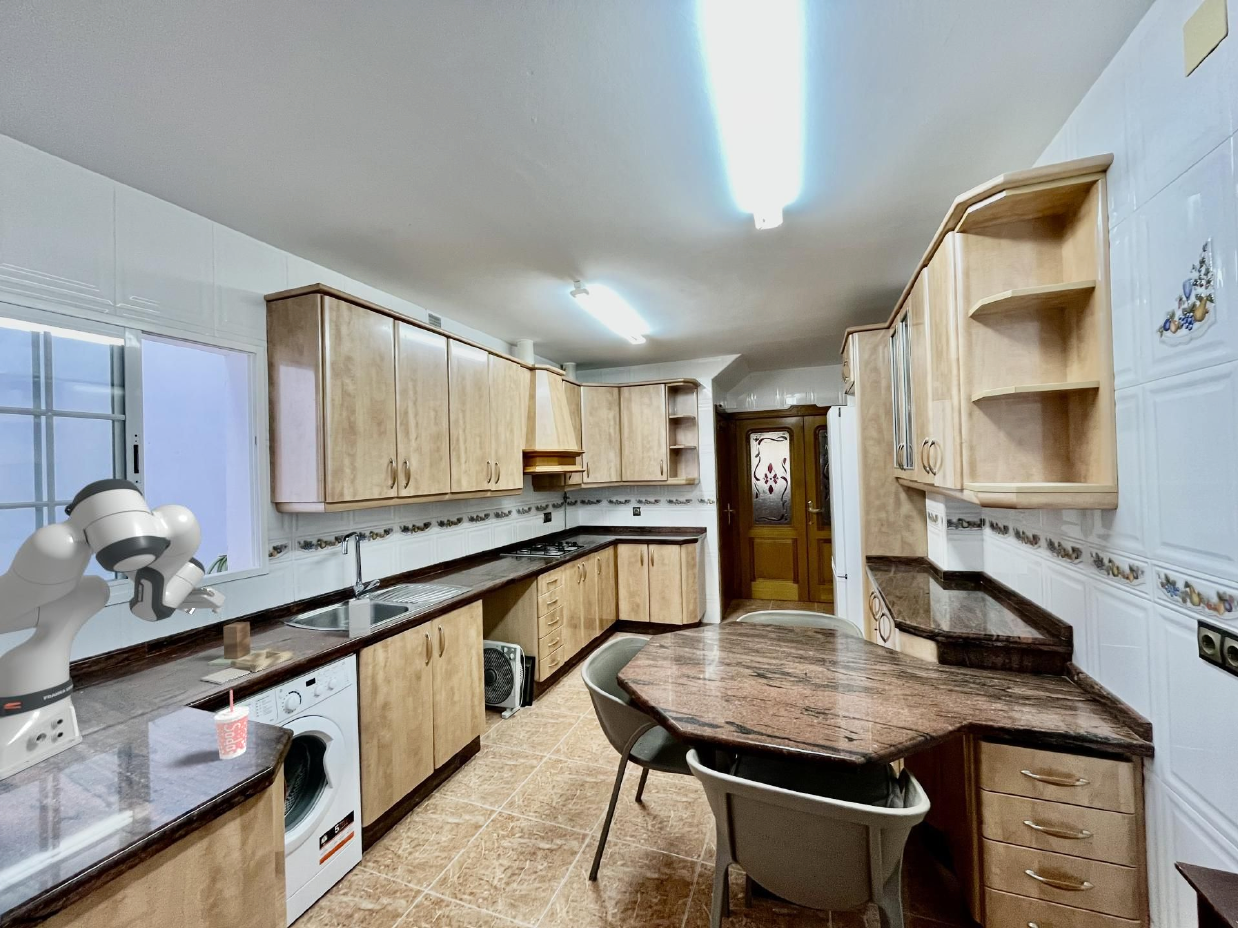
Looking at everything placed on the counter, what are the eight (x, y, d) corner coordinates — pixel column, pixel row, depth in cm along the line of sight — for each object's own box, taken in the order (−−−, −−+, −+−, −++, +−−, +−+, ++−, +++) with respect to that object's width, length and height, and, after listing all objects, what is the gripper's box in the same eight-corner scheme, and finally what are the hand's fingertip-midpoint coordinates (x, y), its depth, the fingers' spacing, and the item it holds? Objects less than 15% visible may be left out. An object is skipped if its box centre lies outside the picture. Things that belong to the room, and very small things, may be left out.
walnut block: (237, 659, 164) (236, 626, 164) (224, 659, 165) (223, 626, 165) (250, 653, 169) (249, 621, 169) (237, 653, 170) (236, 622, 170)
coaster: (237, 665, 161) (237, 662, 161) (207, 665, 162) (207, 662, 162) (265, 652, 172) (265, 650, 172) (237, 652, 173) (237, 650, 173)
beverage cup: (209, 763, 104) (207, 698, 104) (223, 748, 110) (221, 686, 110) (242, 758, 106) (240, 693, 106) (255, 743, 112) (253, 682, 112)
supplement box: (370, 634, 187) (369, 601, 187) (348, 638, 184) (347, 605, 184) (370, 629, 194) (369, 597, 194) (349, 633, 190) (348, 600, 190)
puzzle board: (223, 685, 145) (223, 676, 145) (198, 680, 149) (198, 672, 149) (293, 658, 165) (292, 651, 165) (269, 655, 169) (269, 647, 169)
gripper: (212, 578, 149) (241, 602, 158) (152, 580, 151) (183, 603, 160) (199, 597, 144) (229, 620, 154) (136, 598, 146) (170, 620, 156)
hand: (205, 611), depth 157 cm, fingers open, 8 cm apart
